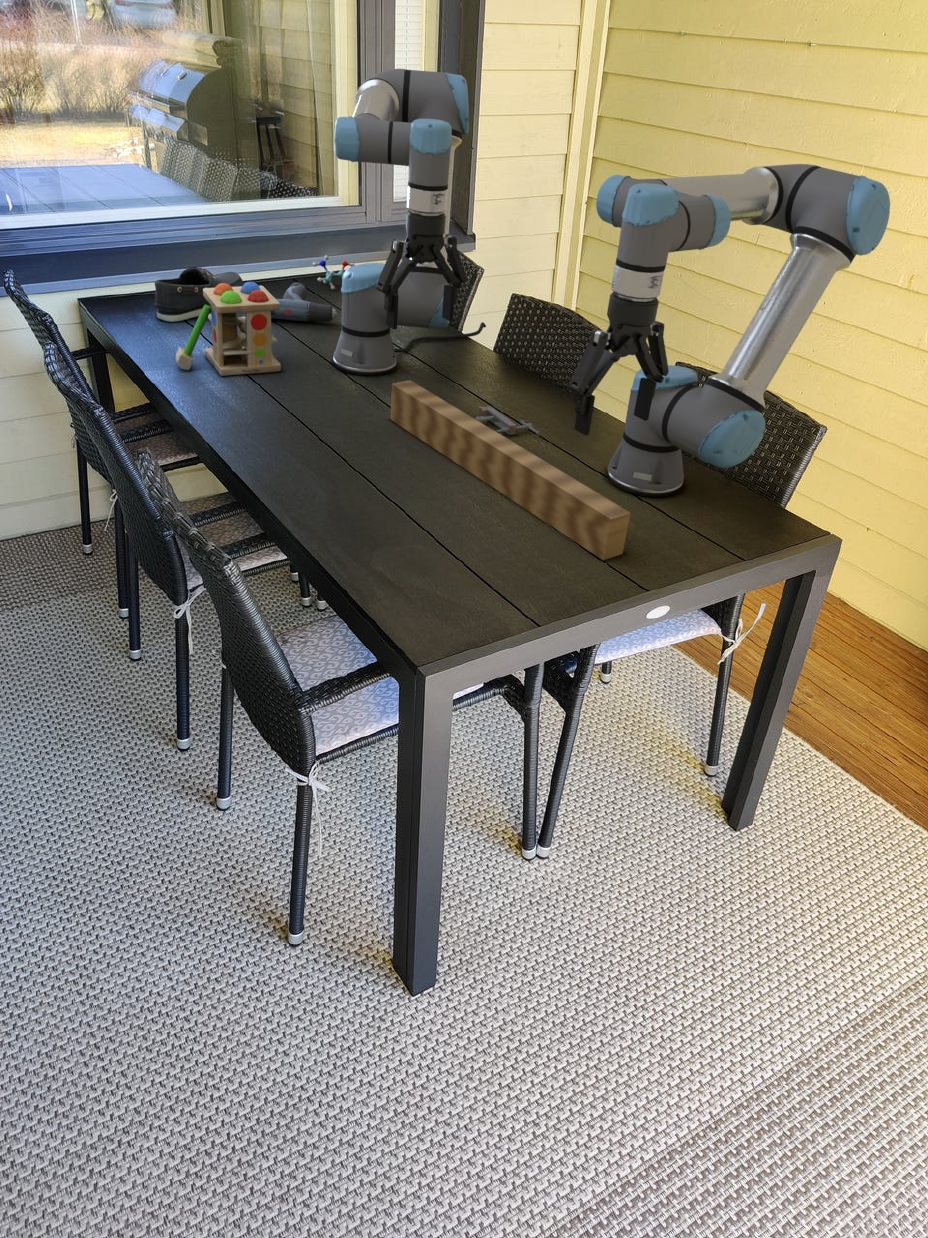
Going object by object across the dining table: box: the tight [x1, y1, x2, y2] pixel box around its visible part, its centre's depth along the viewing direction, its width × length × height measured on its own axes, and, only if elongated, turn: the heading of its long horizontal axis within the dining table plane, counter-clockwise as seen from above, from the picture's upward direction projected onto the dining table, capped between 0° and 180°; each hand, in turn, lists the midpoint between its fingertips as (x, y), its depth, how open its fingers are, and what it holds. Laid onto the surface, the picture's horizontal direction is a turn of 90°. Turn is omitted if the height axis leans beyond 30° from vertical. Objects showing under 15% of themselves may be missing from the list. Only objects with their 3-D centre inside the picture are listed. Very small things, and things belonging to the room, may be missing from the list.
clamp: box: [474, 405, 542, 437], centre depth 212 cm, size 15×2×10 cm
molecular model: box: [312, 255, 355, 291], centre depth 288 cm, size 12×10×10 cm
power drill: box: [271, 282, 338, 322], centre depth 265 cm, size 5×19×20 cm
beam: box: [390, 380, 632, 561], centre depth 190 cm, size 67×5×8 cm, turn 37°
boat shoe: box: [153, 265, 244, 323], centre depth 262 cm, size 13×33×10 cm, turn 147°
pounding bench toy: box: [174, 281, 282, 377], centre depth 225 cm, size 23×14×18 cm, turn 116°
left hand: (419, 323), depth 197 cm, fingers open, 13 cm apart
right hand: (611, 424), depth 162 cm, fingers open, 13 cm apart
